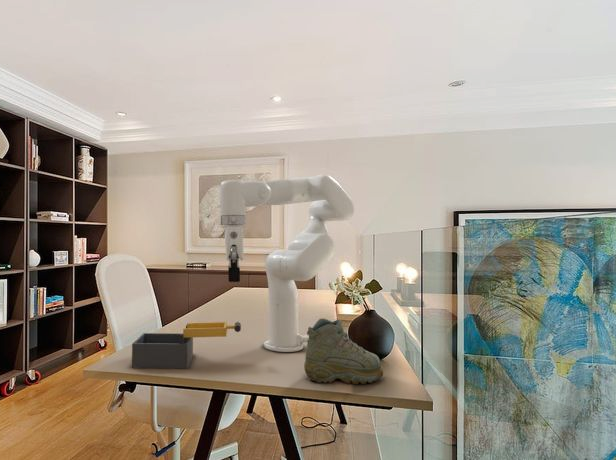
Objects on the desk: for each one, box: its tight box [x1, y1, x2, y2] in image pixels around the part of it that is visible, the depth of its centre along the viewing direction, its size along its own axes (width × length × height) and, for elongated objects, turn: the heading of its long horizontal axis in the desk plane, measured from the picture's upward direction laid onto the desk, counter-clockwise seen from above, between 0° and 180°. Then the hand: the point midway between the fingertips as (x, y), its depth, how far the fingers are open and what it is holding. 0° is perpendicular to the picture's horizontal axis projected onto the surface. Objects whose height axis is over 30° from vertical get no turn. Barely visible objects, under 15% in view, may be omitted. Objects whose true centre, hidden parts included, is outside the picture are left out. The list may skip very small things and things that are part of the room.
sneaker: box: [304, 318, 384, 385], centre depth 97 cm, size 11×19×15 cm, turn 78°
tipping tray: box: [182, 321, 242, 338], centre depth 110 cm, size 16×8×3 cm, turn 88°
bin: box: [131, 324, 194, 369], centre depth 111 cm, size 15×12×9 cm
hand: (233, 280), depth 113 cm, fingers open, 9 cm apart
